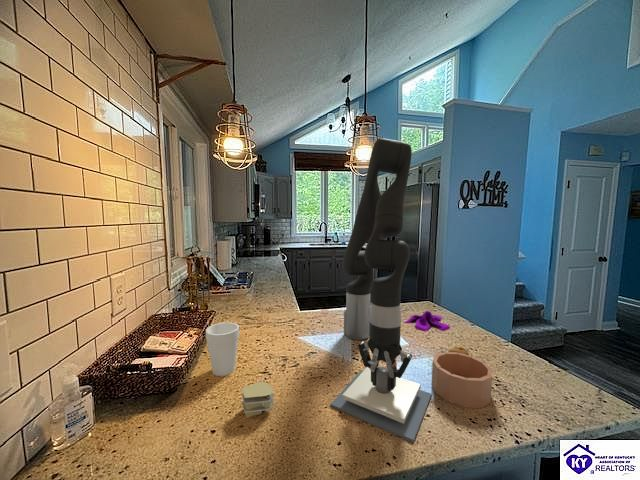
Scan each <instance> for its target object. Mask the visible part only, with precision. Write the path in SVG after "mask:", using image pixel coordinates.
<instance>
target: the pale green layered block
mask: <svg viewBox="0 0 640 480" xmlns="http://www.w3.org/2000/svg"><path fill="white" fill-rule="evenodd" d="M241 391H242V393H241V397H242V399H243V400H241V405H242V408H243V412H244V415H245V418H247V419H248V418H251V417H253V416H256V415H261V414H262V413H263V411H268V410H271V409H273V407H274V405H275V402H274V401H273V400H274V399H273V398H274V397H275V394H274V391H275V389H274V388H273V387H272V386H271V385H270V384H269V383H268V382H266V381H258V382H255V383H253V384H250V385H248V386H244V387H241Z"/></svg>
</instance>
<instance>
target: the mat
mask: <svg viewBox="0 0 640 480" xmlns="http://www.w3.org/2000/svg"><path fill="white" fill-rule="evenodd" d="M363 371H364V370H363V369H362V370H360V371H359V372H358V373H357V374H356V375H355V376H354V378H352V379H351V381H350V382H349V383H348V384H347V385H346V386H345V387H344V388H343V389H342V391H341V392H340V393H339V394H338V395H337V396H336V397H335V398H334V399H333V401H331V403H330V405H329V406H330V407H331V408H334V409H336V410H338V411H340V412H343V413H345V414H347V415H349V416H352V417H353V418H357V419H359V420H361V421H363V422H366V423H368V424H370V425H372V426H375V427H377V428H379V429H382V430H384V431H386V432H388V433H390V434H393V435H395V436H397V437H399V438H402V439H404V440H407V441H409V442H412V443H414V442H415V440H416V437H417V435H418V432H419V429H420V427H421V424H422V422H423V419H424V417H425V413H426V410H427V409H428V405H429V403H430V401H431V398H432V393H431V392H428V391H425V390H422V389H420V390H419V392H418V394H417V396H416V399H415V401H414V403H413V405H412V407H411V409H410V412H409V414H408V416H407V418H406V420H405V422H404V424H403V423H401V422H398V421H396V420H394V419H391V418H389V417H386V416H384V415H381V414H379V413H376V412H374V411H372V410H369V409H367V408H364V407H362V406H359V405H357V404H354V403H352V402H350V401H347V400H345V399H342V395H343V393H344V392H345V391H346V390H347V389H348V388H349V387H350V386H351V384H352V383H353V382H354V381H355V380H356V379H357V378H358V377H359V375H360V374H361V373H362V372H363Z"/></svg>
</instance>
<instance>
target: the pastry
mask: <svg viewBox="0 0 640 480" xmlns="http://www.w3.org/2000/svg"><path fill="white" fill-rule="evenodd" d="M447 352H457V353H462V354H466V355H470V353H469V351H468V350H467V349H466V348H464V347H461V346H455V347H452V348H451V349H449V350H448V351H447ZM470 356H471V355H470Z"/></svg>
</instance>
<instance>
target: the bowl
mask: <svg viewBox="0 0 640 480" xmlns="http://www.w3.org/2000/svg"><path fill="white" fill-rule="evenodd" d="M431 364H432V368H431V369H432V370H431V386H432V388H433V390H434V391H435V393H436V394H437V395H438V396H440V397H442V398H443V399H444V400H445V401H446V402H449V403H452V404H454V405H458V406H460V407H464V408H473V409H474V408H475V409H477V408H479V409H482V408H483V407H486V406H487V405H490V404H491V402H492V401H491V399H492V386H493V385H492V384H493V369H492V367H490V366H489V364H488V363H486V362H485V361H483V360H481V359H479V358H477V357H475V356H473V355H466V354H462V353H457V352H448V351H443V352H441V353H437V354H434V357H433V359H432V363H431Z"/></svg>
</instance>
